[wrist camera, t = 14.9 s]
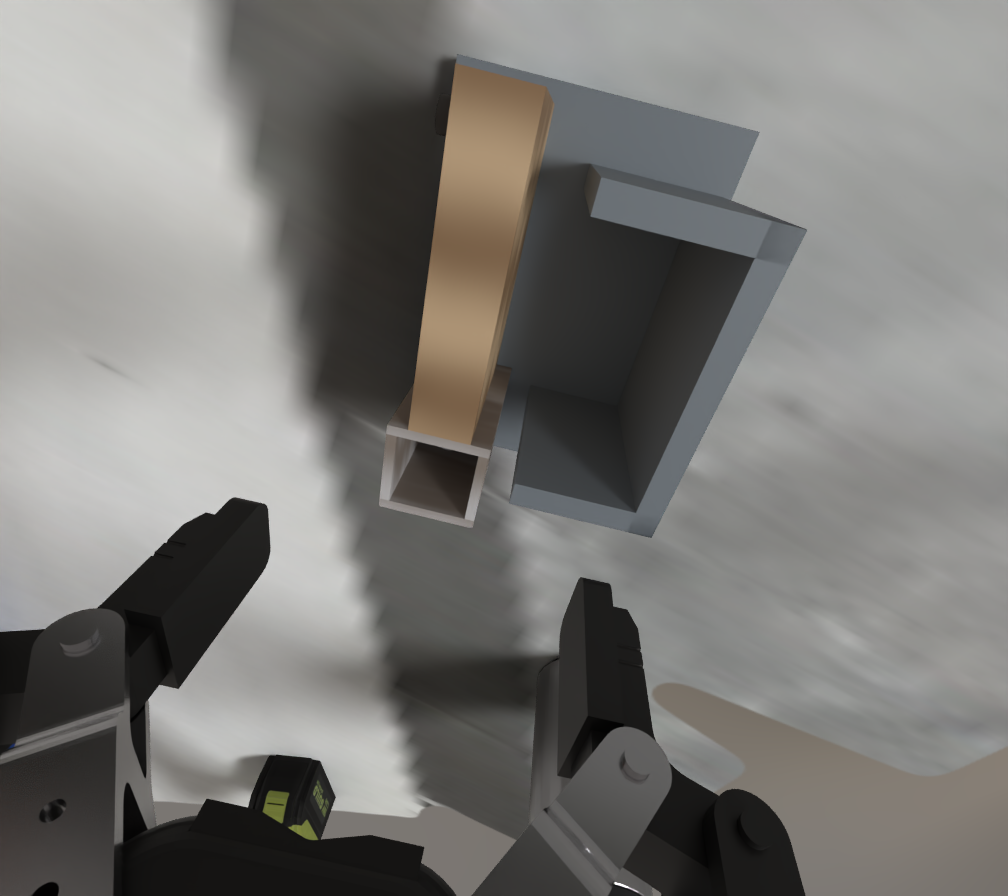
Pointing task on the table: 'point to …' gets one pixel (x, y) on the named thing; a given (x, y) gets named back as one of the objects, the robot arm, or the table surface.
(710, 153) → the grey corner bracket
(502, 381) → the door
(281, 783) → the cordless drill
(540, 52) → the table surface
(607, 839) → the robot arm
